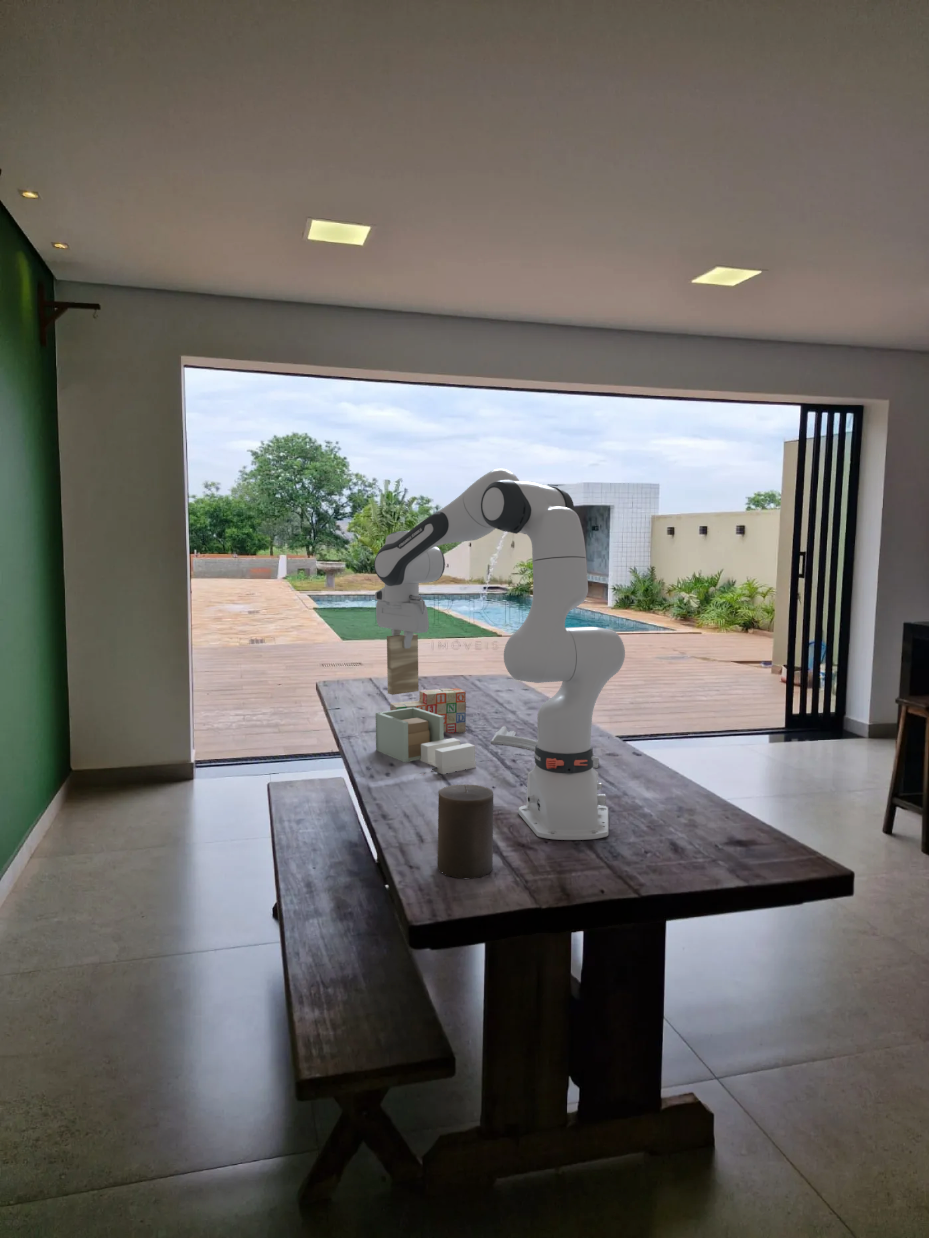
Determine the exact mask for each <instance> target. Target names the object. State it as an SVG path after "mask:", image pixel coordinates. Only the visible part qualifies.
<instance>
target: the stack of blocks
mask: <svg viewBox="0 0 929 1238" xmlns="http://www.w3.org/2000/svg"><path fill="white" fill-rule="evenodd" d="M418 696H419V699H418V700H413V701H400V702H390V703H389V708H390V709H389V711H392V710H398V709H405V708H411V707H415V708H419V709H422V710H425V711H428V712H431V713H434V714H438V715H441V716H444V733H447V734H455V733H454V732H459V733H465V732H466V730H467V729H466V727H467V725H466V724H467V723H466V722H467V721H466V717H467V716H466V715H467V714H466V712H467V701H466V698H467V697H466V691H465V690H463V689H461V688H459V687H455V688H448V687H447V688H446V687H445V688H437V689H425V690H424V689H423V690H419V695H418Z"/></svg>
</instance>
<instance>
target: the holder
mask: <svg viewBox="0 0 929 1238" xmlns="http://www.w3.org/2000/svg"><path fill="white" fill-rule="evenodd" d="M419 761H420V762H422V763H425V764H428V765H430V766H432V767H434V768H431V769H432V770H431V771H434V772H437V773H439V774H441V775H447V774H446V773H448V774H451V773H456V772H455V771H457V772H462V771H465V769H466V770H471V769H475V768H477V762H476V745H474V744H471V743H470V742H468V743H461V740H460V739H458V738H455V737H451V738H446V739H444V740H440V741H434V742H429V743H424V744H421V759H419Z"/></svg>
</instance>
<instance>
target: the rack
mask: <svg viewBox="0 0 929 1238" xmlns="http://www.w3.org/2000/svg"><path fill="white" fill-rule="evenodd" d="M444 733H445V732H444V716H441V715H438V714H434V713H431V712H428V711H425V710H422V709H419V708H415V707H411V708H405V709H398V710H392V711H390V710H385V711H381V712H375V751H377V752H378V753H381V754H383V755H385V756H389V757H391V758H392V759H393V758H394V759H395V760H398V761H400V762H403V763H408V762H412V761H418V760H419V761H420V759H421V744H424V743H429V742H434V741H440V740H445V739H444V738H445V736H444Z"/></svg>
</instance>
